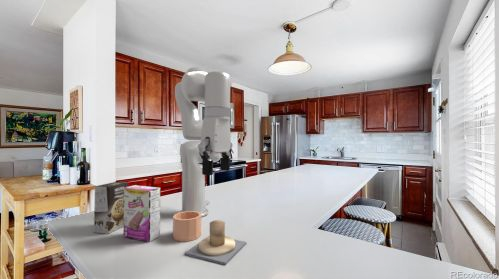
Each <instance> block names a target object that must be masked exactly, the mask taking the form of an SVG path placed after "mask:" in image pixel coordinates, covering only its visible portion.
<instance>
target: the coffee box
mask: <svg viewBox="0 0 499 279" xmlns="http://www.w3.org/2000/svg"><path fill="white" fill-rule="evenodd" d="M125 187H129V182H127V181H126V182H125V181H113V182H108V183H104V184H98V185H95V186H94V211H93V212H94V214H93V216H94V217H93V219H94V220H93V233H95V234H96V233H97V234H106V235H107V234H112V233H113V232H115V231H118V230H120V229H122V228H124V188H125Z"/></svg>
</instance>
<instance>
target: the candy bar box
mask: <svg viewBox="0 0 499 279" xmlns="http://www.w3.org/2000/svg"><path fill="white" fill-rule="evenodd" d="M160 236H161V187H155V186H146V185H137V184H135V185H134V184H133V185H130V186H129V185H128V187H125V188H124V227H123V238H128V239H132V240H138V241H143V242H147V243H150V242H153V241H154V240H156V239H158V238H159V237H160Z"/></svg>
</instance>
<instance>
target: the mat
mask: <svg viewBox="0 0 499 279" xmlns="http://www.w3.org/2000/svg"><path fill="white" fill-rule="evenodd" d="M208 237H210V235H208V236H206V238H208ZM234 241H235V249H234V250H233V251H232V252H230V253H228V254H225V255H220V256H209V255H205V254H203V253H201V252H200V251H199V243H200V242H201V241H199V242H198V243H196V244H195V245H193V246H192V247H190V248H189V249H188V250H186V251H185V252H184V255H186V256H189V257H192V258H197V259H201V260H204V261H209V262H213V263H217V264H219V265H223V266H226V265H227V264H228V263H229V262H230V261H231V260H232V259H233V258H234V257H235V256H236V255H237V254H238V253H239V252H240V251H241V250H242V249H243V248H244V247H245V246H246V245H247V241H245V240H239V239H234Z"/></svg>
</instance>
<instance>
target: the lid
mask: <svg viewBox="0 0 499 279" xmlns="http://www.w3.org/2000/svg"><path fill="white" fill-rule="evenodd" d="M225 224H226V223H225V221H224V220H218V219H217V220H212V221H210V222H209V236H210V237H208V236H207V237H208V238H207V237H205V238H204V239H202V240H200V241H199V242H200V243H199V242H198V243H199V251H200V252H201V253H203V254H205V255H209V256H220V255H225V254H228V253H230V252H232V251H233V250H234V249H235V241H234V240H235V239H234V238H232V237H230V236H226V231H225V229H226V226H225Z"/></svg>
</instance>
